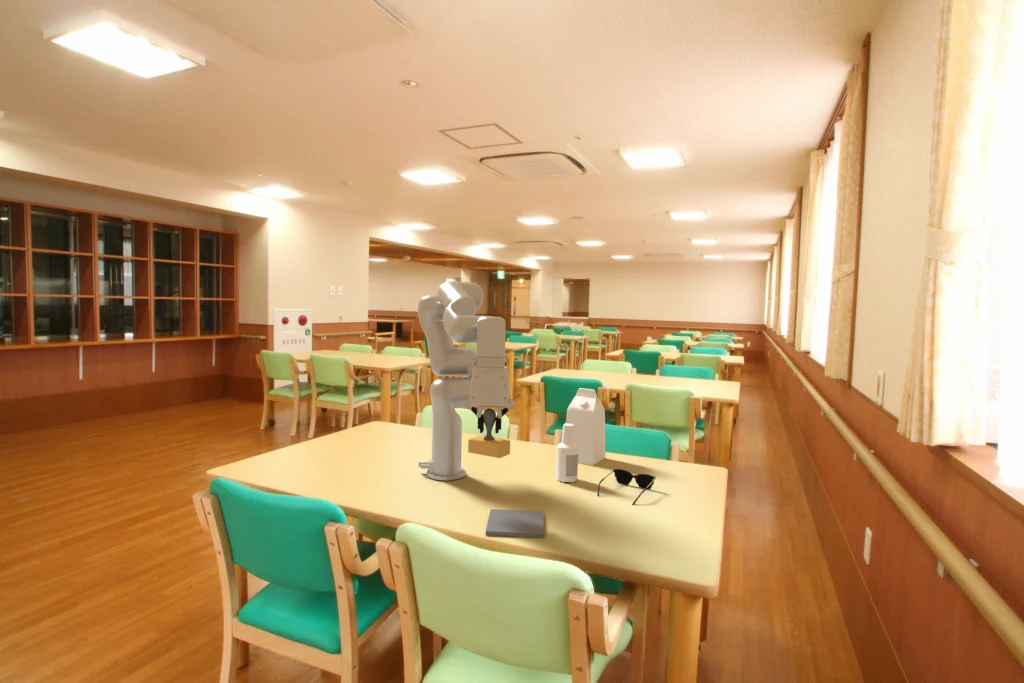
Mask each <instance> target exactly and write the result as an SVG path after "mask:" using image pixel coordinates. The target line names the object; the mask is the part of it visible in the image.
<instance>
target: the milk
mask: <svg viewBox="0 0 1024 683" xmlns="http://www.w3.org/2000/svg"><path fill="white" fill-rule="evenodd" d="M605 411H606V410H605V407H604V405H603V403H602V402H601V400H600V398H599V397H598V395H597V392H596V389H592V388H584V387H579V388H577V391H576V394H575V396H574V397H573V399H572V400H571V402H570V403H569V405H568V407H567V409H566V418H565V424H567V423H568V424H573V425H574V443H575V444H576V445H577V446H578V462H582V463H587V464H586V465H588V464H591V465H590V466H595V465H596V464H598V463H600V462H601V461H600V460H602V459H603V460H605V459H606V412H605ZM604 458H605V459H604ZM603 460H602V461H603ZM599 461H600V462H599ZM597 462H598V463H597ZM582 463H581V464H582ZM595 463H596V464H595ZM594 464H595V465H594Z"/></svg>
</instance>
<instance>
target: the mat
mask: <svg viewBox="0 0 1024 683" xmlns="http://www.w3.org/2000/svg"><path fill="white" fill-rule="evenodd" d="M489 510H490V511H489V514H488V519H487V524H486V527H485V536H492V535H509V536H508V537H514V536H522V537H521V538H537V537H540V539H541V538H542V539H543V538H545V525H544V524H545V523H544V522H545V521H544V511H543V510H542V511H541V510H525V509H524V510H523V509H521V510H520V509H519V510H517V509H501V508H500V509H499V508H498V509H496V508H490V509H489Z"/></svg>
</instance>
